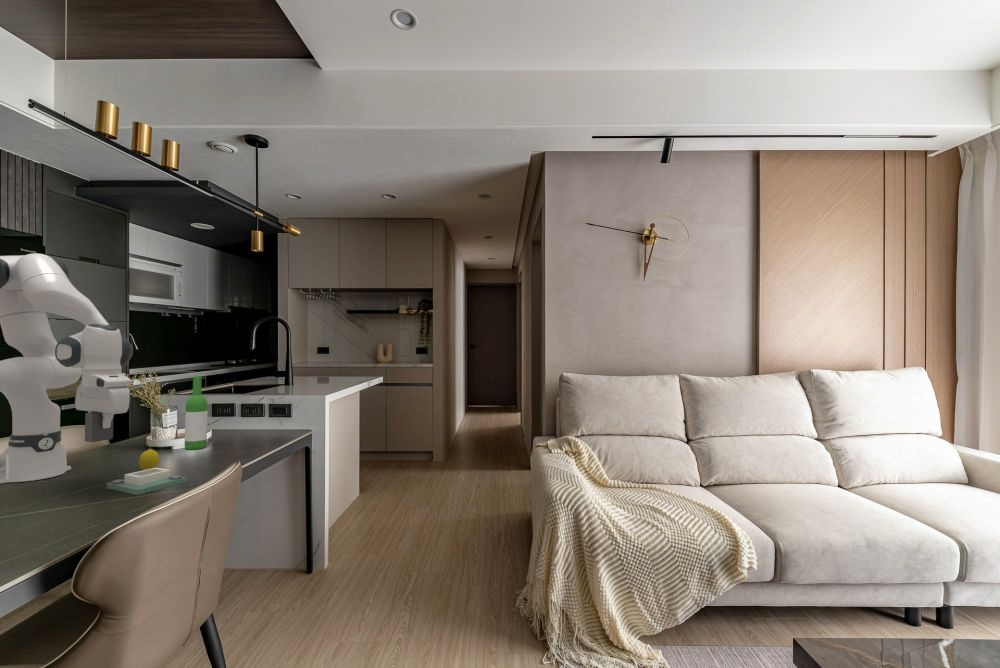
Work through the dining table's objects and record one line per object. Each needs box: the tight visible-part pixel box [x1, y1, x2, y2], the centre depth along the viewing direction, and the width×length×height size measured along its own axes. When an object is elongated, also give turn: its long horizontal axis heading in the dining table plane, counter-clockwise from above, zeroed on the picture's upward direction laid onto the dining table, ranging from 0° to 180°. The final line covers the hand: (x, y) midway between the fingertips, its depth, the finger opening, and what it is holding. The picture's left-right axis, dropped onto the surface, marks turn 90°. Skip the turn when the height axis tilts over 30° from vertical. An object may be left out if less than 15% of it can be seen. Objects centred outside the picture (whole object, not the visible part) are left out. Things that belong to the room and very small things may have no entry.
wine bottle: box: [184, 375, 208, 451], centre depth 195 cm, size 8×8×30 cm
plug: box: [84, 412, 114, 443], centre depth 136 cm, size 4×6×10 cm, turn 157°
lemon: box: [138, 448, 160, 471], centre depth 158 cm, size 6×6×8 cm
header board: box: [106, 467, 187, 496], centre depth 144 cm, size 15×14×4 cm
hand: (100, 427), depth 136 cm, fingers closed on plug, 3 cm apart
